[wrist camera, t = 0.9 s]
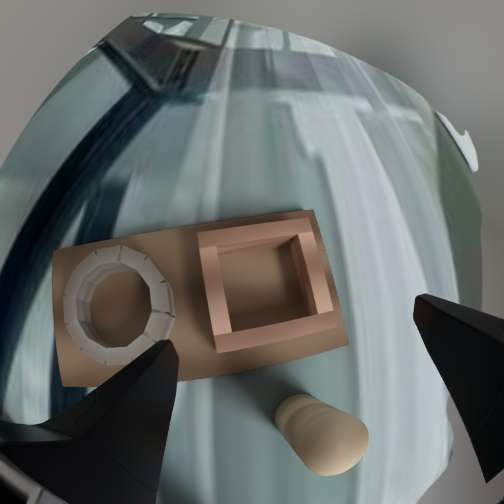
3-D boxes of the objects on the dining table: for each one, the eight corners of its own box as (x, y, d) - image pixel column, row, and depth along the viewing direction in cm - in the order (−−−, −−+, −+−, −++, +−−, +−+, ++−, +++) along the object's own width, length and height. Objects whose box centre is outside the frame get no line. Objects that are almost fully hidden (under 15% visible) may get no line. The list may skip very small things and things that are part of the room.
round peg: (324, 428, 19) (371, 459, 11) (279, 442, 18) (308, 484, 10) (317, 387, 20) (364, 405, 12) (270, 400, 19) (297, 429, 12)
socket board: (342, 344, 21) (363, 343, 18) (69, 385, 17) (47, 389, 14) (309, 215, 25) (322, 195, 21) (59, 254, 21) (39, 240, 17)
